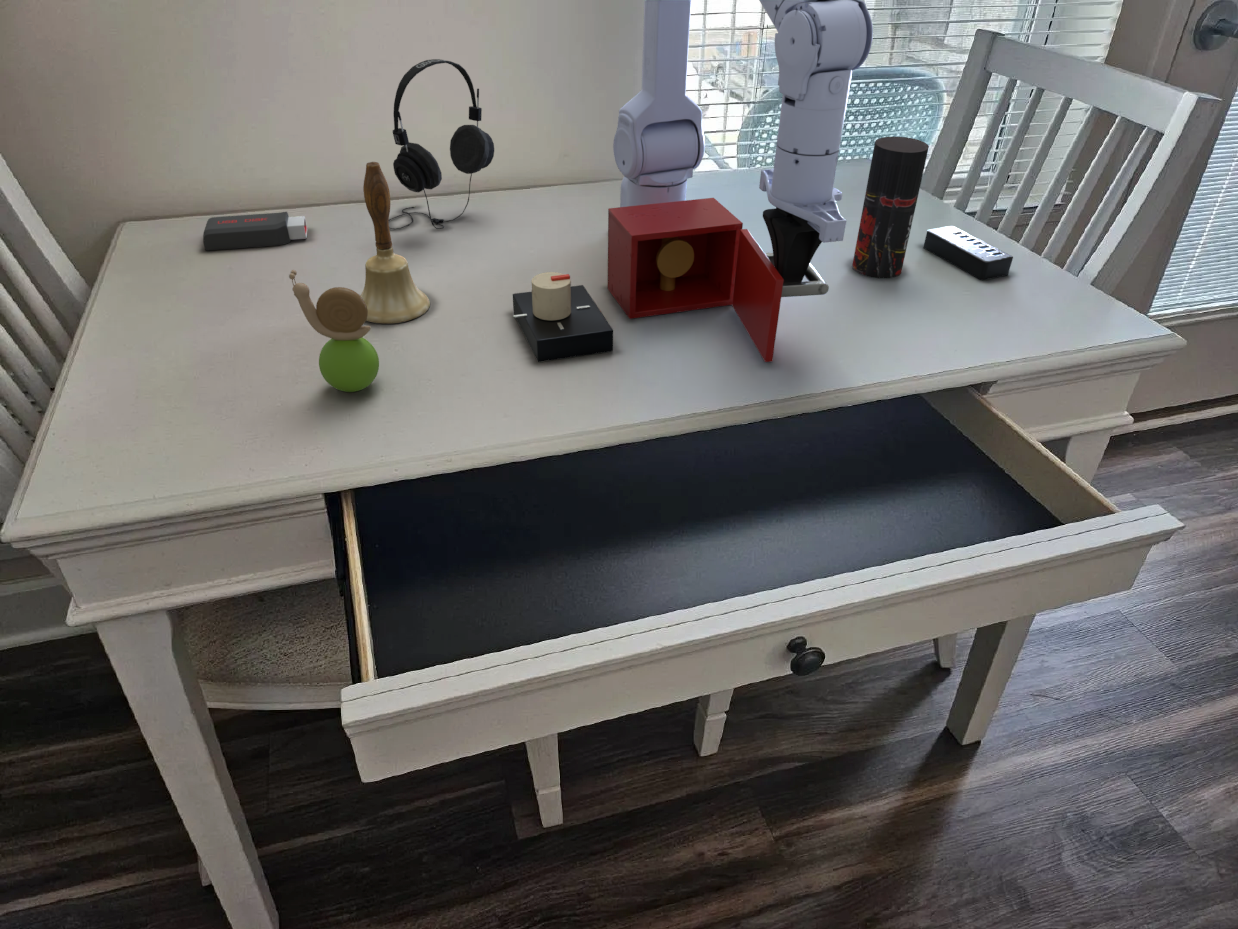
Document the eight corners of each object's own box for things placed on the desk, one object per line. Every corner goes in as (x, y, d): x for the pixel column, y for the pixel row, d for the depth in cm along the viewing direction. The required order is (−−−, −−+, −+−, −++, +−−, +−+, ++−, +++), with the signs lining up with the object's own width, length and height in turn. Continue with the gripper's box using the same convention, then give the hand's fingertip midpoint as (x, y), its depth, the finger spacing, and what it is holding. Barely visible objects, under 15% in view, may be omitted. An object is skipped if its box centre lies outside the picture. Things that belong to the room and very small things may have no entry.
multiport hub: (981, 280, 107) (987, 262, 106) (921, 246, 115) (925, 229, 114) (1009, 274, 109) (1015, 256, 107) (948, 241, 117) (952, 224, 115)
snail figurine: (319, 374, 87) (295, 258, 80) (386, 372, 88) (367, 257, 81) (308, 404, 83) (281, 285, 76) (378, 402, 83) (358, 283, 76)
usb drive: (210, 234, 114) (205, 213, 113) (307, 227, 117) (303, 207, 115) (205, 250, 110) (199, 229, 109) (306, 243, 113) (302, 222, 111)
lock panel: (503, 315, 98) (502, 293, 96) (583, 305, 100) (583, 283, 99) (527, 364, 90) (525, 340, 88) (613, 351, 92) (613, 328, 90)
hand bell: (443, 297, 101) (427, 155, 92) (406, 329, 95) (385, 181, 85) (379, 285, 103) (357, 145, 94) (338, 316, 97) (311, 170, 87)
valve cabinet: (607, 288, 104) (608, 208, 98) (707, 275, 107) (713, 197, 101) (629, 319, 98) (631, 235, 92) (734, 304, 101) (743, 222, 95)
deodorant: (902, 280, 107) (930, 154, 98) (852, 275, 108) (875, 150, 99) (900, 260, 112) (927, 138, 103) (852, 256, 112) (874, 134, 103)
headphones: (447, 193, 128) (432, 41, 116) (506, 211, 123) (497, 54, 111) (366, 224, 118) (341, 62, 106) (427, 245, 113) (407, 77, 101)
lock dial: (538, 323, 91) (536, 287, 89) (528, 306, 94) (527, 271, 92) (575, 317, 92) (575, 283, 90) (565, 301, 95) (564, 267, 93)
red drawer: (765, 362, 90) (775, 279, 84) (732, 306, 100) (739, 228, 94) (817, 358, 91) (832, 276, 85) (780, 303, 101) (790, 226, 95)
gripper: (886, 168, 77) (858, 310, 85) (812, 121, 88) (793, 250, 96) (812, 174, 76) (791, 318, 84) (746, 125, 87) (733, 257, 95)
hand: (788, 283), depth 90 cm, fingers closed, pressing on red drawer
